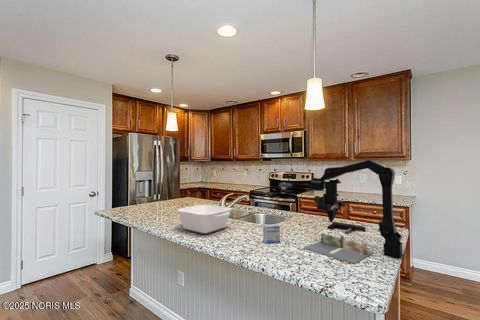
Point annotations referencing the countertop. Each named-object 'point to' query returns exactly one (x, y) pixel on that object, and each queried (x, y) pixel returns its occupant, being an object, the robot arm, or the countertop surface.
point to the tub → (204, 218)
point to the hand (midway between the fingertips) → (331, 221)
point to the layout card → (337, 252)
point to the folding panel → (330, 240)
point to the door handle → (346, 227)
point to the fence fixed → (354, 246)
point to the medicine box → (271, 234)
